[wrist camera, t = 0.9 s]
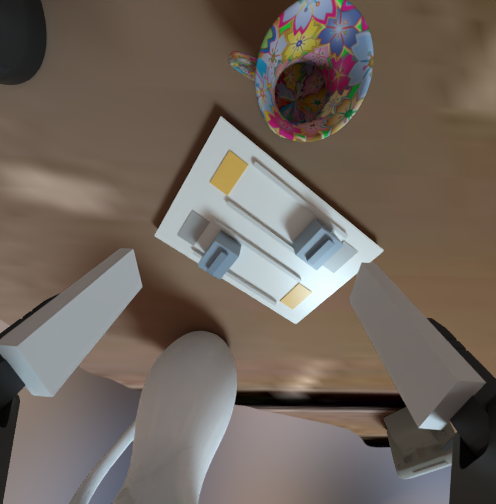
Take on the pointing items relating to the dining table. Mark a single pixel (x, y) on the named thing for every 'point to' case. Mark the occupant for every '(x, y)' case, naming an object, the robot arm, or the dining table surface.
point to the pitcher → (174, 424)
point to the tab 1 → (220, 255)
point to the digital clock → (416, 445)
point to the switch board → (261, 225)
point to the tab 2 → (316, 244)
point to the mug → (311, 69)
